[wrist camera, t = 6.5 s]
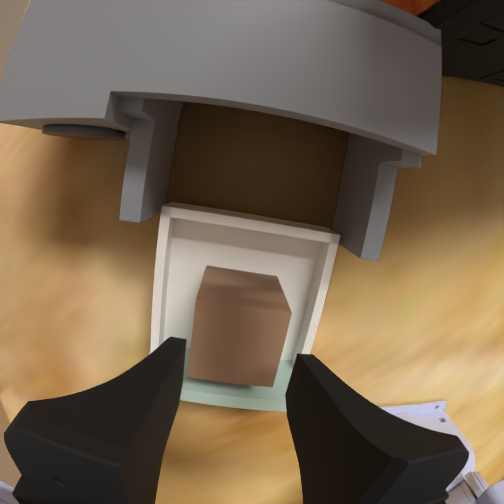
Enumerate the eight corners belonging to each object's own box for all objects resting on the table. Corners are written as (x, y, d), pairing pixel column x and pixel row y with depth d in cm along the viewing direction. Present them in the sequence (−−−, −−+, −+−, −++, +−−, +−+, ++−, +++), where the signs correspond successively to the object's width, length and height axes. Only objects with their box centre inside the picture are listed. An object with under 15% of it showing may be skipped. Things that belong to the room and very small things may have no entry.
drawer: (328, 227, 18) (361, 246, 13) (295, 363, 20) (310, 412, 15) (170, 201, 17) (144, 211, 12) (157, 344, 19) (137, 391, 14)
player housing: (371, 74, 16) (440, 28, 8) (344, 240, 19) (409, 281, 11) (98, 38, 15) (38, -16, 7) (65, 197, 17) (-18, 213, 9)
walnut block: (277, 276, 18) (291, 312, 13) (264, 337, 19) (272, 387, 14) (206, 265, 17) (195, 298, 12) (198, 328, 18) (187, 376, 13)
